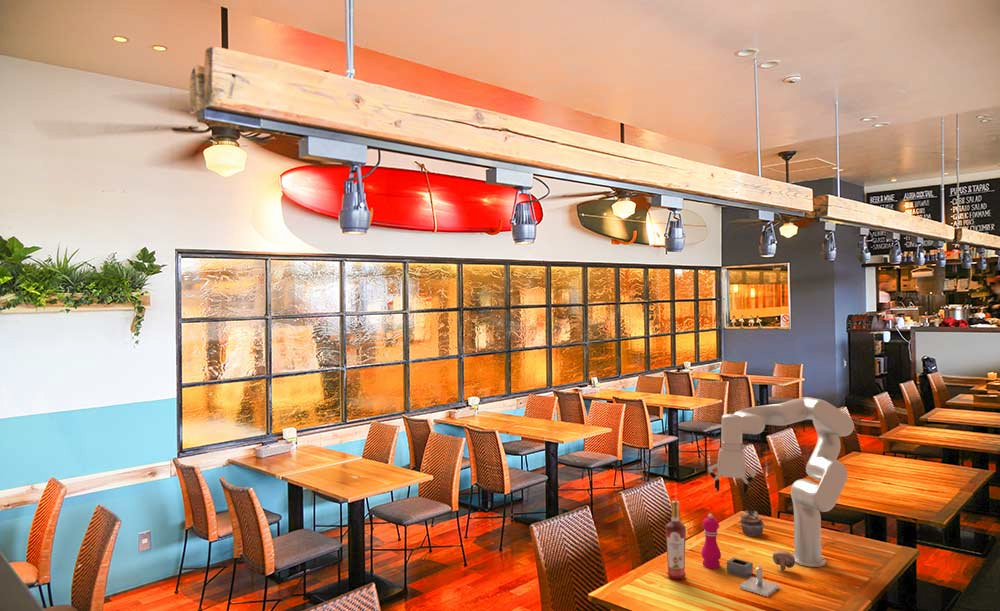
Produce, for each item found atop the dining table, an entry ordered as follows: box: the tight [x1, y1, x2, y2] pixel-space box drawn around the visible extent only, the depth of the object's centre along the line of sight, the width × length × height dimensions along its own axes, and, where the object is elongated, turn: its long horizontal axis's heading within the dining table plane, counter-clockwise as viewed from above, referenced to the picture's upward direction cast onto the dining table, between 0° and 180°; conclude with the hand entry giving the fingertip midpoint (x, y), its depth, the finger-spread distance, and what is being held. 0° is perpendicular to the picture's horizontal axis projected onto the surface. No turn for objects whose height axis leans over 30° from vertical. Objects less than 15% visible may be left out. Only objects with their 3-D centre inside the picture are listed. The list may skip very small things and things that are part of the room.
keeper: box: [738, 566, 780, 598], centre depth 227 cm, size 10×10×7 cm
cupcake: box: [740, 509, 765, 537], centre depth 282 cm, size 10×10×10 cm
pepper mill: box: [701, 513, 722, 570], centre depth 248 cm, size 7×7×20 cm
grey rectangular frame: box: [726, 557, 754, 579], centre depth 241 cm, size 8×6×4 cm
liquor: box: [665, 500, 687, 581], centre depth 238 cm, size 7×7×28 cm
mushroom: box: [772, 550, 796, 572], centre depth 242 cm, size 8×6×8 cm
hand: (731, 491), depth 244 cm, fingers open, 9 cm apart
